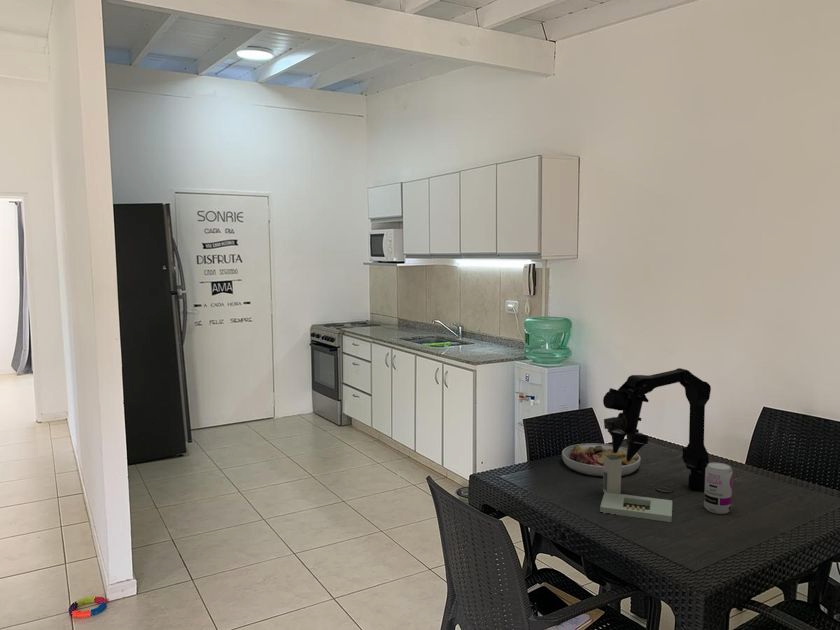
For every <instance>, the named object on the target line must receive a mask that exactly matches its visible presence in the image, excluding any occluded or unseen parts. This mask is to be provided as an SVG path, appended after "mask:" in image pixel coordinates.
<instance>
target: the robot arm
mask: <svg viewBox="0 0 840 630" xmlns="http://www.w3.org/2000/svg"><path fill="white" fill-rule="evenodd" d="M672 384H680V385H681V386H682V387H683V388H684V392H685V397H686V399H687V401H688V403H689V419H688V420H689V421H688V424H689V429H688V434H689V435H688V438H689V439H688V444H687V446H685V447H682V456H681V460H682V459H683V460H682V461H683V463H684V464H685V467H686V469H688V470H690V473H688V484H687V485H688V487H689V490H690V491H695V492H703V493H704V492H705V468H706V467H707V465H708V464H709V463H710V460H709V459H710V458H709V457H710V456H709V452H708V450H707V449H706V446H705V411H706V410H705V409H706V408H705V407H706V404H707V403H708V401H709V400H710V396H711V391H712V388H711V385H710V383H708V382H707V381H704V380H702V379H701V378H699V377H697V376H696V375H694V374H693V373H692V372H691V371H690V370H688V369H685V368H680V367H679V368H676V369H672V370H668V371H663V372H659V373H656V374H655V373H654V374H649V375H645V374H644V375H643V374H632V375H629V376H628V377H627V379H626V381H625V382H624V383H623V384H622V385H621V386H620V387H619V388H618V389H615V388H609V389H608V391H607V392H606V393H605V395H604V396H603V399H602V400H603V401H602V402H603V406H604V408H605V409H609V410H615V411H622V412H619V413H618V416H612V417H609V418H604V419H603V426H604V427H603V428H604V429H605V430H607V432H608V434H609V435H610V437H611V443H612V444H611V445H613V453H617V451H618V450H619V448H620V447H622V444H623V441H624V439H625V437H626V439H625V442H626V444H627V457H626V460H627V461H630V460H631V459H632V457H633V456H634V455H635V454H636V453H637V452H639V451H640V450H641V449H642V448H643V447H645V445H648V443H649V437H648V435H647V434H644V433H642V432H639V431H640V429H638V424H639V422H641V421H642V419H643V418H642V417H640V415H641V413H642V412H641V411H642V407H643V403H649V402H650V401H649V399H648V398H647V395H646V394H649V393H651V392H652V391H653V390H654V389H656V388H660V387H664V386H669V385H672ZM637 454H638V453H637Z"/></svg>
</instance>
